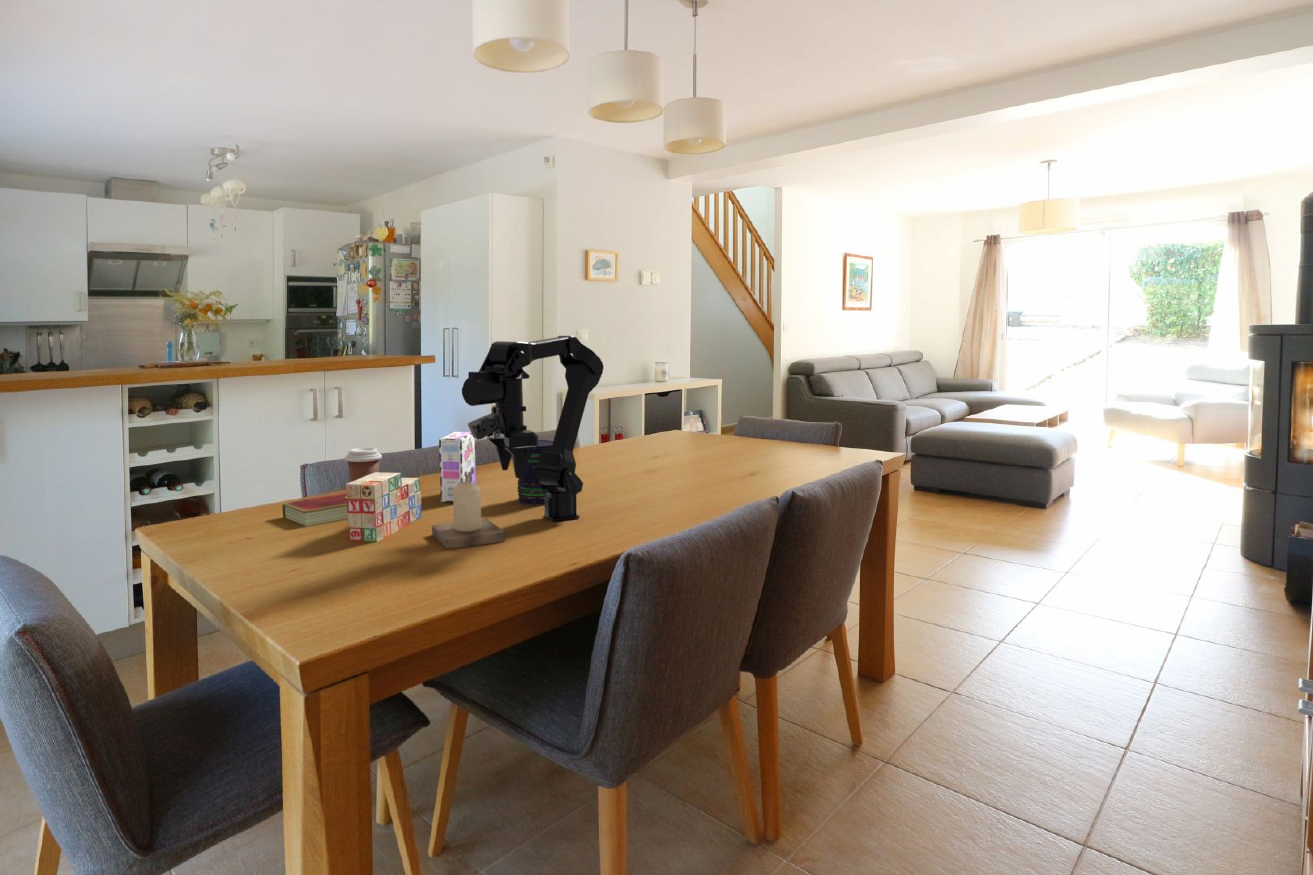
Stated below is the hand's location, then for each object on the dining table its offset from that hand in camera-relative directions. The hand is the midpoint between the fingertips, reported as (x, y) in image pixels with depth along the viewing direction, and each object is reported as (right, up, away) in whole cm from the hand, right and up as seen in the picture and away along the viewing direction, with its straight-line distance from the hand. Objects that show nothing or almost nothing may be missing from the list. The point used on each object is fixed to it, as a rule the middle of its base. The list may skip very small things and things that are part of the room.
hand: (511, 474), depth 161 cm
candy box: (-20, -8, +35) cm, 41 cm away
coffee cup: (-46, -7, +37) cm, 59 cm away
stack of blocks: (-28, -12, +5) cm, 31 cm away
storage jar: (+1, -9, +31) cm, 32 cm away
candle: (-9, -12, -3) cm, 15 cm away
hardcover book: (-44, -11, +17) cm, 48 cm away
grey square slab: (-9, -13, -3) cm, 16 cm away
